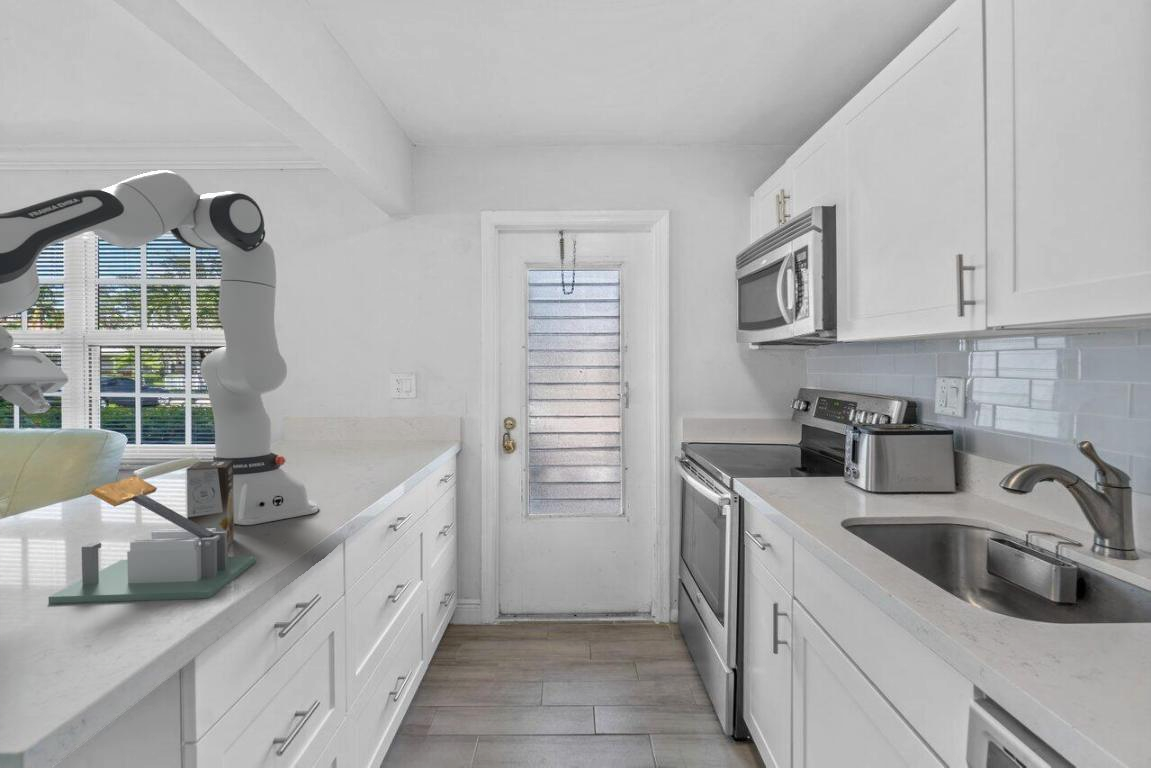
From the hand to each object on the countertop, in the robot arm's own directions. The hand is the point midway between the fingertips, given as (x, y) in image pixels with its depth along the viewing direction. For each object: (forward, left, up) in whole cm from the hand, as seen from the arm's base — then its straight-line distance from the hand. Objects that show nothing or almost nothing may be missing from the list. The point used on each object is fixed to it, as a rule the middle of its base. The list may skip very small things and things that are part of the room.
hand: (40, 410), depth 91 cm
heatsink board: (-15, +9, -28) cm, 33 cm away
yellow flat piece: (-15, +9, -16) cm, 24 cm away
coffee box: (-23, -6, -28) cm, 37 cm away
